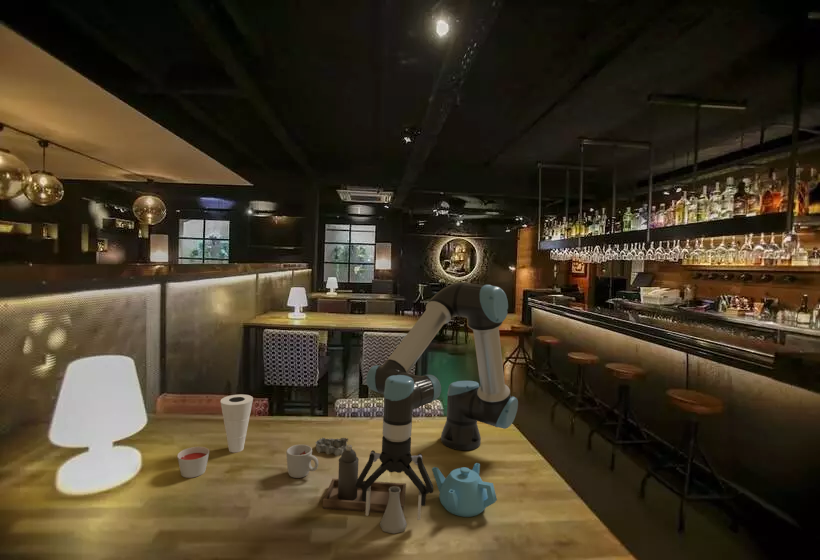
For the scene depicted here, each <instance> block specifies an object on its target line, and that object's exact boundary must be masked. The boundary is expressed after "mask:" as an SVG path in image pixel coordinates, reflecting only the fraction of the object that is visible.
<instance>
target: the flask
mask: <svg viewBox="0 0 820 560" xmlns="http://www.w3.org/2000/svg"><path fill="white" fill-rule="evenodd" d="M400 491H401V489H400V488H399V487H396V486H393V487H390V488H389V493H390V494H389V501H388V505H387V507H386V510H385V513H383V516H382V518H381V520H380V523H379V527H380V529H381V530H382V532H383V533H384V532H385V533H389V534H397V533H403V532H405V530H406V527H407V525H408V524H407V521H406V517H405V515H404V510H403V511H402V508H401V504H400V498H399V493H400Z"/></svg>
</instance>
